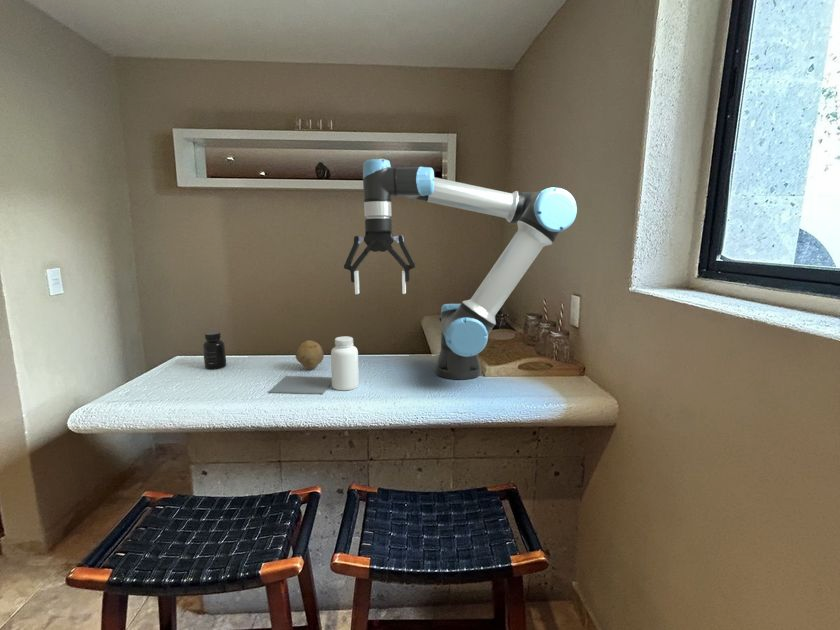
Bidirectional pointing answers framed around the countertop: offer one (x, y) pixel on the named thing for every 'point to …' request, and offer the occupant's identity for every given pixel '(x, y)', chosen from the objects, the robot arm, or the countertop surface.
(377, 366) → the countertop surface
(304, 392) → the mat
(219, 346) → the supplement bottle
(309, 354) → the natural sponge
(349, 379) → the pill bottle
